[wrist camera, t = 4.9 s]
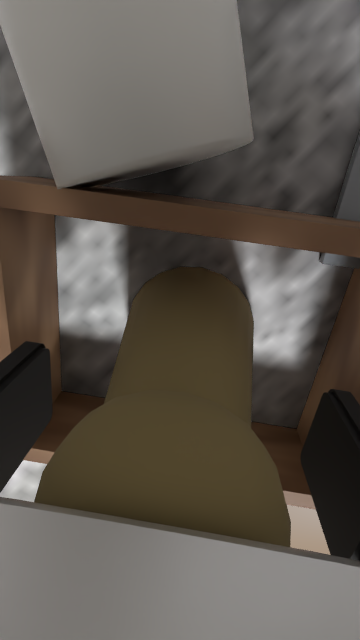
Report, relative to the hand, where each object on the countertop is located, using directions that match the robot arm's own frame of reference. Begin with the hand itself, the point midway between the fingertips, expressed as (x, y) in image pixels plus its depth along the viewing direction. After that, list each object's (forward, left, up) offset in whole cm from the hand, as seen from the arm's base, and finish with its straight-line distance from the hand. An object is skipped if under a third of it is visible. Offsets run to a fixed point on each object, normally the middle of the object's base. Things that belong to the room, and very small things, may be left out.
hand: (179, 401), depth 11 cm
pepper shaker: (0, 0, -5) cm, 5 cm away
